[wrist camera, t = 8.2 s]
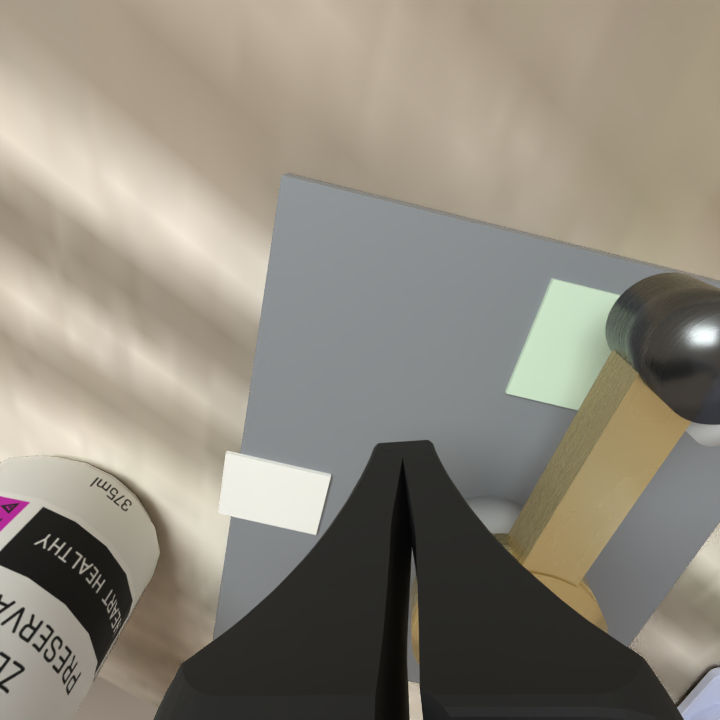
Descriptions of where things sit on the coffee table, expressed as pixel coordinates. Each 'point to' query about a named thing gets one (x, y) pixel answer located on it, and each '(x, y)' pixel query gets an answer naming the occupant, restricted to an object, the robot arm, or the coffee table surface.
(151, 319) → the coffee table surface
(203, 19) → the coffee table surface
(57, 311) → the coffee table surface
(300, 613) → the robot arm
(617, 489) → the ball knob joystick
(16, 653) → the supplement can
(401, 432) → the plate
